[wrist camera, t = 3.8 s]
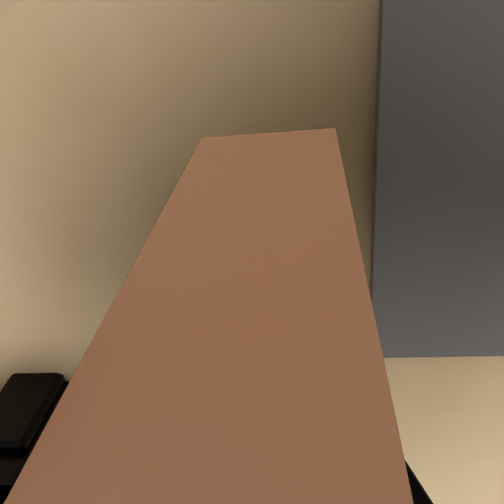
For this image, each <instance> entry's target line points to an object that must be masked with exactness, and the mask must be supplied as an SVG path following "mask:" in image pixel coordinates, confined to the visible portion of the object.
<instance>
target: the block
mask: <svg viewBox="0 0 504 504" xmlns="http://www.w3.org/2000/svg"><path fill="white" fill-rule="evenodd" d="M4 504H414V503H413V499H412V494H411V489H410V484H409V479H408V475H407V470H406V465H405V460H404V455H403V451H402V446H401V441H400V436H399V431H398V426H397V422H396V417H395V412H394V407H393V402H392V398H391V393H390V388H389V383H388V378H387V374H386V369H385V364H384V359H383V354H382V350H381V345H380V340H379V335H378V330H377V326H376V321H375V316H374V311H373V306H372V302H371V297H370V292H369V287H368V282H367V278H366V273H365V268H364V263H363V258H362V254H361V249H360V244H359V239H358V234H357V230H356V225H355V220H354V215H353V210H352V206H351V201H350V196H349V191H348V186H347V182H346V177H345V172H344V167H343V162H342V158H341V153H340V148H339V143H338V138H337V134H336V129H335V128H327V129H313V130H299V131H285V132H271V133H257V134H243V135H229V136H215V137H202V138H201V140H200V142H199V144H198V146H197V148H196V150H195V151H194V153H193V155H192V157H191V159H190V161H189V162H188V164H187V166H186V168H185V170H184V172H183V174H182V175H181V177H180V179H179V181H178V183H177V185H176V186H175V188H174V190H173V192H172V194H171V196H170V198H169V199H168V201H167V203H166V205H165V207H164V209H163V210H162V212H161V214H160V216H159V218H158V220H157V222H156V223H155V225H154V227H153V229H152V231H151V233H150V235H149V236H148V238H147V240H146V242H145V244H144V246H143V247H142V249H141V251H140V253H139V255H138V257H137V259H136V260H135V262H134V264H133V266H132V268H131V270H130V271H129V273H128V275H127V277H126V279H125V281H124V283H123V284H122V286H121V288H120V290H119V292H118V294H117V295H116V297H115V299H114V301H113V303H112V305H111V307H110V308H109V310H108V312H107V314H106V316H105V318H104V319H103V321H102V323H101V325H100V327H99V329H98V331H97V332H96V334H95V336H94V338H93V340H92V342H91V344H90V345H89V347H88V349H87V351H86V353H85V355H84V356H83V358H82V360H81V362H80V364H79V366H78V368H77V369H76V371H75V373H74V375H73V377H72V379H71V380H70V382H69V384H68V386H67V388H66V390H65V392H64V393H63V395H62V397H61V399H60V401H59V403H58V404H57V406H56V408H55V410H54V412H53V414H52V416H51V417H50V419H49V421H48V423H47V425H46V427H45V428H44V430H43V432H42V434H41V436H40V438H39V440H38V441H37V443H36V445H35V447H34V449H33V451H32V452H31V454H30V456H29V458H28V460H27V462H26V464H25V465H24V467H23V469H22V471H21V473H20V475H19V477H18V478H17V480H16V482H15V484H14V486H13V488H12V489H11V491H10V493H9V495H8V497H7V499H6V501H5V502H4Z"/></svg>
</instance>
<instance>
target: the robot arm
mask: <svg viewBox="0 0 504 504" xmlns="http://www.w3.org/2000/svg"><path fill="white" fill-rule="evenodd" d="M68 384H69V382H68V381H65V380H64V377H63V375H61V374H13V375H12V376H11V377H10V378H9V380H8V381H7V382H6V384H5V385H4V387H3V388H2V390H1V391H0V504H4V502H5V501H6V499H7V497H8V495H9V493H10V491H11V489H12V488H13V486H14V484H15V482H16V480H17V478H18V477H19V475H20V473H21V471H22V469H23V467H24V465H25V464H26V462H27V460H28V458H29V456H30V454H31V452H32V451H33V449H34V447H35V445H36V443H37V441H38V440H39V438H40V436H41V434H42V432H43V430H44V428H45V427H46V425H47V423H48V421H49V419H50V417H51V416H52V414H53V412H54V410H55V408H56V406H57V404H58V403H59V401H60V399H61V397H62V395H63V393H64V392H65V390H66V388H67V386H68ZM404 460H405V459H404ZM405 465H406V470H407V475H408V479H409V484H410V489H411V494H412V499H413V503H414V504H433V502H432V501H431V499H430V498H429V496H428V495H427V493H426V492H425V490H424V488H423V487H422V485H421V484H420V482H419V481H418V479H417V478H416V476H415V475H414V473H413V471H412V470H411V468H410V467H409V465H408V464H407V462H406V461H405Z"/></svg>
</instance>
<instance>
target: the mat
mask: <svg viewBox="0 0 504 504" xmlns="http://www.w3.org/2000/svg"><path fill="white" fill-rule="evenodd" d="M370 297H371V302H372V306H373V311H374V316H375V321H376V326H377V330H378V335H379V340H380V345H381V350H382V354H383V358H390V357H455V356H504V0H380V20H379V50H378V80H377V109H376V139H375V169H374V199H373V229H372V258H371V288H370Z"/></svg>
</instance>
